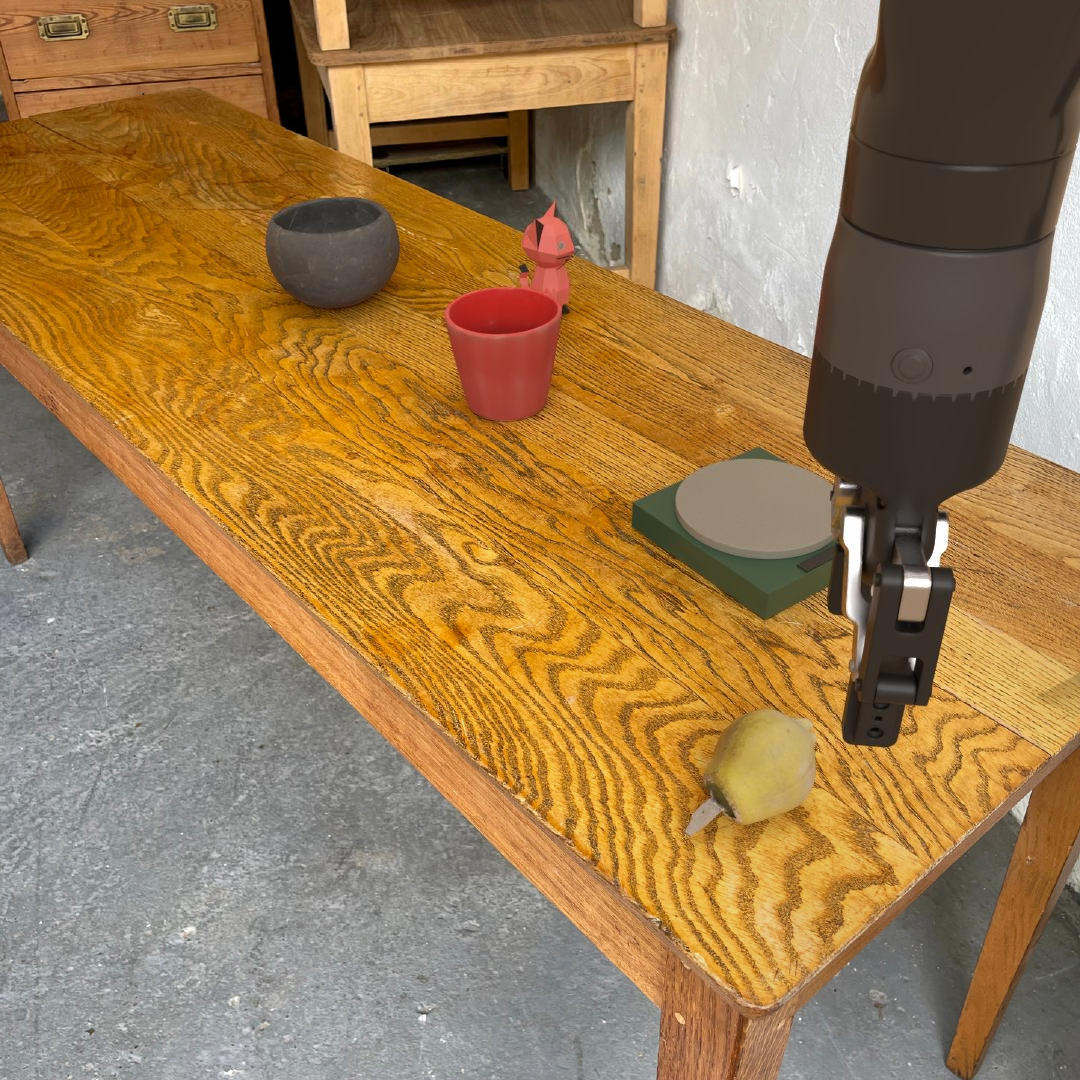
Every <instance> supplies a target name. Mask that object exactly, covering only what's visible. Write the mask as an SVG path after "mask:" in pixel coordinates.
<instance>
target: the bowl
mask: <svg viewBox="0 0 1080 1080" xmlns="http://www.w3.org/2000/svg"><path fill="white" fill-rule="evenodd" d="M266 227H267V228H266V234H265V242H264V243H265V244H264V245H265V247H264V248H265V257H266V260H267V264H268V267H269V269H270V271H271V274H272V275H273V277H274V278H275V279H276V281H277V283H278V284H279V285H280V287H281V288H282V289H284V291H286V292H287V293H288V294H290V295H291V296H293V297H294V298H295V299H297V300H298V301H299V302H302V303H303V304H306V305H308V306H311V307H314V308H319V309H339V308H341V309H342V308H347V307H351V306H354V305H357V304H360V303H362V302H365V301H367V300H369V299H370V298H372V297H373V296H375V295H376V294H377V293H379V292H380V291H381V290H382V289H384V287H386V285H387V284H388V282H389V281H390V280H391V279H392V277H393V275H394V273H395V271H396V268H397V266H398V262H399V260H400V251H401V244H400V243H401V242H400V236H399V232H398V227H397V225H396V222H395V220H394V218H393V216H392V215H391V213H390V212H389V210H387V208H386V207H385V206H383V205H382V204H380V203H378V202H377V201H374V200H372V199H370V198H369V199H368V198H364V197H357V196H338V197H336V196H335V197H319V198H314V199H309V200H305V201H302V202H299V203H294V204H292V205H290V206H287V207H284V208H282V209H280V210H278V211H277V212H275V213H274V214H273V215H272V217H271V218H270V219H269V220H268V222H267V226H266Z"/></svg>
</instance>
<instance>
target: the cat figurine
mask: <svg viewBox="0 0 1080 1080" xmlns="http://www.w3.org/2000/svg"><path fill="white" fill-rule="evenodd" d="M578 244H579V241H577V244H576V245H575V246H576V247H575V246H574V243H573V232H572V231H570V232H569V228H568V225H567V224H566V223H565V222H564V221H563V220H562V219H560V218H559V213H558V207H557V200H554V202H553V203H552V204H551V206H550V207H549V208H548V210H547V211H546V212H545V214H544V215H543V216H542V217H539V218H534V219H533V221H532V222H531V223H529V225H527V226H526V228H525V230H524V233H523V235H522V238H521V248H522V250H523V251H524V253H525V255H526V257H527V258H528V259H530V260H531V261H533V262H535V263H536V264H535V267H534V271H533V274H532V276H531V280H530V285H529V282H528V276H529V275H530V270H529V269H528V266H527V265H526V263H522V264H520V265H519V266H518V269H519V271H520V275H519V277H518V280H519V281H520V284H521V288H527V289H533V290H537V291H541V292H544V293H546V294H549V295H550V296H552V297H554V298H555V299H556V300H557V301H558V302H559V303H560V305H561V308H562V315H566V314H569V313H570V312H571V309H570V307H568V306H567V303H570V287H571V286H572V284H571V280H570V274H569V273H568V272H567V269H566V267H565V265H566V264H567V263H568V262H569V261H570V260H571V259H572V258H573V257H574V256H575V255H576V254H577V252H578V251H579V249H578Z"/></svg>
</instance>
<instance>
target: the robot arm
mask: <svg viewBox="0 0 1080 1080" xmlns="http://www.w3.org/2000/svg"><path fill="white" fill-rule="evenodd" d="M858 79H859V80H858V83H857V87H856V92H855V96H854V101H853V106H852V112H851V118H850V124H849V125H850V127H849V132H848V139H847V147H846V155H845V162H844V169H843V177H842V183H841V192H840V198H839V208H838V213H837V218H836V223H835V227H834V230H833V235H832V238H831V241H830V246H829V248H828V250H827V251H828V252H827V256H826V259H825V260H826V261H825V264H824V268H823V274H822V279H821V286H820V293H819V294H820V295H819V301H818V309H817V317H816V326H815V334H814V340H813V347H812V354H811V355H812V356H811V362H810V370H809V378H808V385H807V386H808V387H807V394H806V401H805V409H804V416H803V422H802V423H803V424H802V436H803V442H804V445H805V446H806V448H807V450H808V452H809V453H810V455H811V456H812V458H814V460H815V461H816V462H817V463H818V464H819V465H820V466H821V467H823V468H824V469H825V470H826V471H828V472H829V473H831V474H833V475H834V481H833V485H832V486H833V490H831V492H830V501H831V534H833V539H834V541H837V542H840V544H839V543H836V544H835V550H834V556H833V562H832V569H831V575H830V581H829V586H827V594H826V604H827V610H828V612H829V613H830V614H832V615H833V616H840V617H841V616H843V617H844V618H845V619H847V620H848V621H850V622H851V624H852V644H851V659H849V660H848V673H850V675H849V680H848V685H847V691H846V696H845V701H844V706H843V712H842V717H841V724H840V728H841V735H842V736H841V737H842V740H843V741H844V743H846V744H848V745H851V746H861V747H874V748H890V747H892V746H894V745H896V743H898V740H899V735H900V731H901V726H902V723H903V718H904V713H905V710H906V706H915V707H917V706H918V707H928V705H929V702H930V699H931V697H932V696H933V685H934V679H935V676H936V672H937V671H936V670H937V666H938V662H939V657H940V653H941V648H942V643H943V639H944V634H945V630H946V625H947V621H948V616H949V613H950V608H951V603H952V599H953V595H954V592H955V591H956V587H957V581H956V577H955V576H954V569H953V568H952V567H949V566H948V567H947V566H941V557H942V554H943V553H944V552H946V550H947V548H948V545H949V528H950V514H949V511H948V510H947V509H939V507H940V505H942V503H944V502H946V501H947V500H949V499H951V498H952V497H956V496H957V495H958V494H961V493H964V492H966V491H971V490H972V489H975V488H977V487H979V486H981V485H983V484H984V483H987V482H988V481H989V480H990V479H992V478H993V477H994V476H995V475H996V474H997V473H998V472H999V471H1000V469H1001V468H1002V466H1003V465H1004V462H1005V460H1006V457H1007V453H1008V449H1009V446H1010V442H1011V437H1012V434H1013V429H1014V426H1015V421H1016V418H1017V415H1018V410H1019V406H1020V402H1021V398H1022V395H1023V390H1024V387H1025V383H1026V380H1027V379H1026V378H1027V375H1028V371H1029V369H1030V368H1029V367H1030V364H1031V359H1032V355H1033V352H1034V347H1035V343H1036V340H1037V336H1038V332H1039V328H1040V325H1041V321H1042V316H1043V313H1044V309H1045V305H1046V300H1047V295H1048V291H1049V290H1048V289H1049V283H1050V277H1051V265H1052V264H1051V263H1052V253H1053V245H1054V239H1055V234H1056V229H1057V228H1056V226H1057V224H1058V222H1059V218H1060V214H1061V210H1062V206H1063V202H1064V198H1065V194H1066V190H1067V187H1068V182H1069V178H1070V174H1071V170H1072V166H1073V162H1074V159H1075V155H1076V151H1077V144H1078V142H1079V139H1080V0H879V6H878V17H877V27H876V34H875V41H874V43H873V45H871V47H870V49H869V51H868V53H867V55H866V57H865V59H864V62H863V65H862V68H861V72H860V75H859V78H858Z"/></svg>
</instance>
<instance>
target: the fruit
mask: <svg viewBox="0 0 1080 1080" xmlns="http://www.w3.org/2000/svg"><path fill="white" fill-rule="evenodd" d="M812 728H814V723H813V722H812V720H810V719H809V718H808V717H795V716H787V715H786V714H784V713H783V712H781V711H779V710H776V709H771V708H761V709H757V710H752V711H750V712H747V713H745V714H742V715H740V716H738V717H737V718H735V719H734V720H733V721H732V722H730V723H729V724H728V725H727V726H726V728H725V729H724V730H723V731H722V732H721V734H720V735H719V738H718V740H717V742H716V745H715V747H714V750H713V753H712V756H711V757H712V758H711V761H710V762H709V763H708V765H707V766H706V768H705V771H704V772H703V775H702V782H703V784H704V786H705V788H706V789H707V792H708V794H709V795H710V798H707V799H706V801H703V803H702V804H700V806H698V808H696V810H695V811H694V812H693V813H692V814H691V818H690V820H689V823H688V824H687V826H686V829H685V831H684V833H685V834H686V835H687V836H688V837H692V836H693V835H695V834H697V833H698V832H701V830H702V829H704V828H705V827H706V826H707V825H709V824H710V823H711V822H712V821H713V820H714V819H715V818H716V817H717V816H718V815H719V814H721V813H722V814H723V815H724V816H725V817H726V818H727V819H729V820H731V821H732V822H734V823H737V824H739V825H742V826H749V825H753V824H755V823H759V822H762V821H765V820H768V819H770V818H773V817H776V816H779V815H782V814H785V813H788V812H789V811H792V810H793V809H796V808H797V807H798V806H799V805H801V804H803V802H804V801H805V800H806V799H807V797H809V795H810V793H811V791H812V789H813V787H814V784H815V781H816V777H817V763H816V751H815V744H816V743H818V737H817V735H816V733H815V732H814V731H813V730H812Z"/></svg>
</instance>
